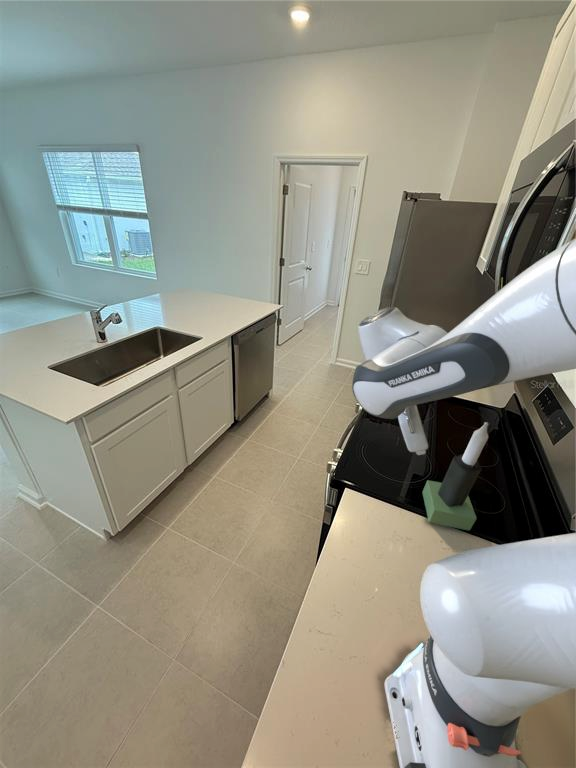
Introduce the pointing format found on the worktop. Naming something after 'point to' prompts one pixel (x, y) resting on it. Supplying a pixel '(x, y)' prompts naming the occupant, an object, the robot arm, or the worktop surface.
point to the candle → (463, 470)
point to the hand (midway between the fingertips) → (417, 437)
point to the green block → (447, 509)
